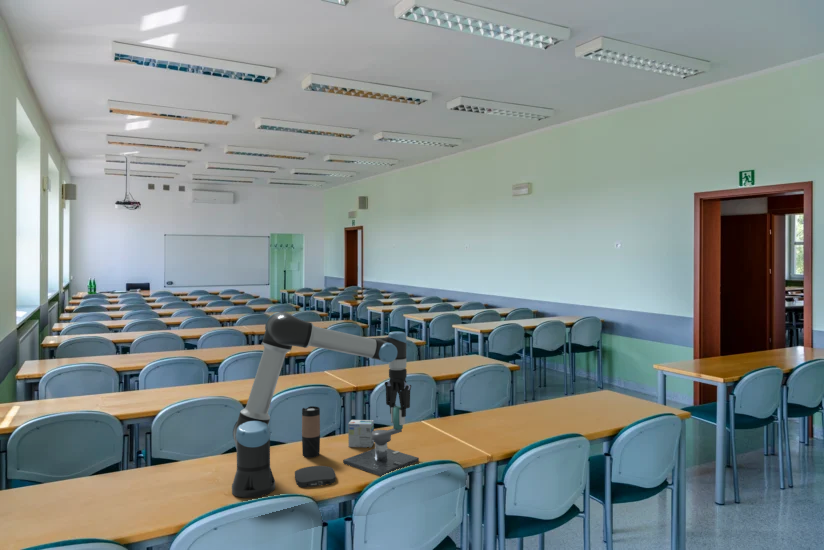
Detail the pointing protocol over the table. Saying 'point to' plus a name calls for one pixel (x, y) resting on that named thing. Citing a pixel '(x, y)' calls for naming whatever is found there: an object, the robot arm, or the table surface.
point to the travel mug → (311, 431)
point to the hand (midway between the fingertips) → (398, 423)
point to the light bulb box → (360, 433)
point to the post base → (380, 465)
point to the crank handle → (385, 435)
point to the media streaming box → (315, 476)
